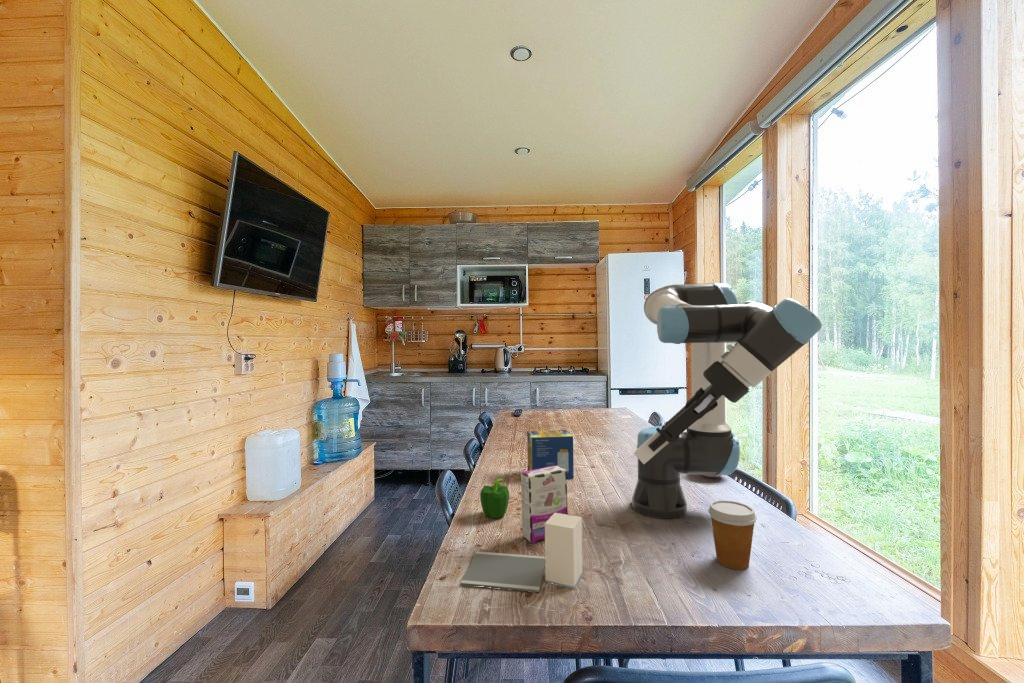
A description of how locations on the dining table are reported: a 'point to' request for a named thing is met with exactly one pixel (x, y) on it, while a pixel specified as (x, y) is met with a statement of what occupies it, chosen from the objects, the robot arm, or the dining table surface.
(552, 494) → the candy bar box
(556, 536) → the cream block
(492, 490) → the bell pepper
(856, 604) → the dining table surface
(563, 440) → the protein box
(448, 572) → the dining table surface
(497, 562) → the gray plastic tray
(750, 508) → the disposable coffee cup
